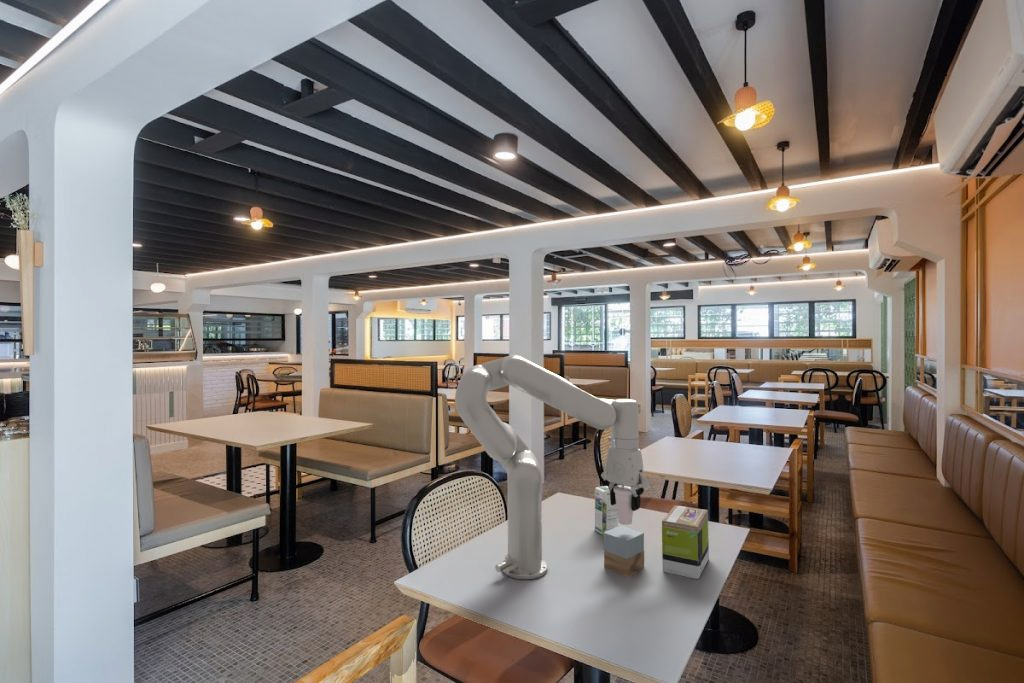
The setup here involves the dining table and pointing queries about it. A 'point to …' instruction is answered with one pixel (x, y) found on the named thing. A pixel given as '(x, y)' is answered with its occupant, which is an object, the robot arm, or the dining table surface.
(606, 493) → the syrup box
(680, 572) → the tea box
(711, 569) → the dining table surface
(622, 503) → the smoothie
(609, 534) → the tower top
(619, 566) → the tower base
